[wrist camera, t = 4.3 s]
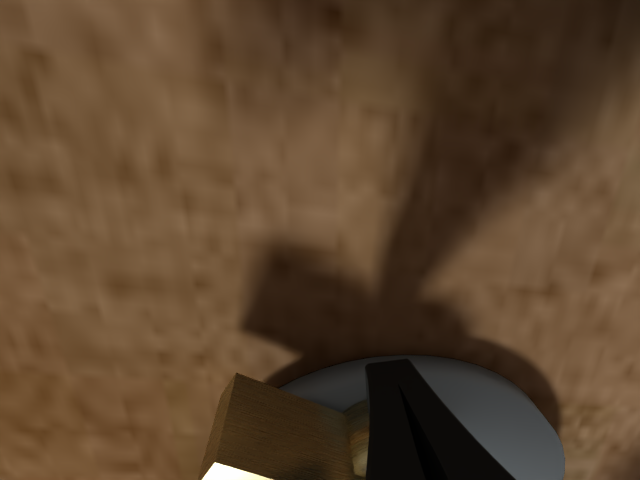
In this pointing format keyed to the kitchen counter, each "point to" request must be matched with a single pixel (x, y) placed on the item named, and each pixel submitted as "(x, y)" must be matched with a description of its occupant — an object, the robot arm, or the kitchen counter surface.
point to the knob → (283, 437)
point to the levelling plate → (458, 409)
